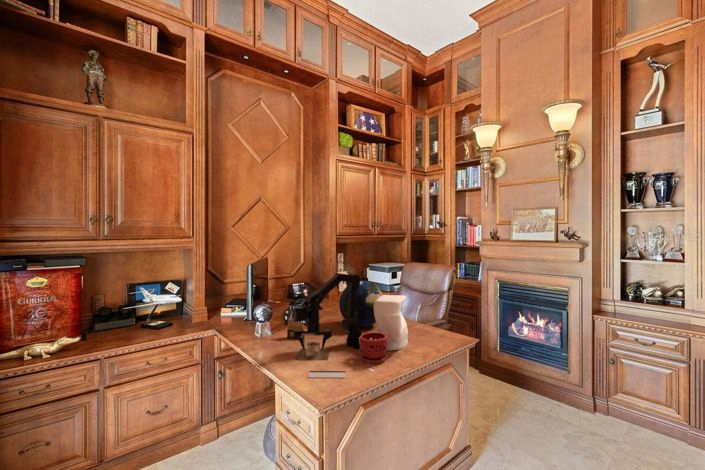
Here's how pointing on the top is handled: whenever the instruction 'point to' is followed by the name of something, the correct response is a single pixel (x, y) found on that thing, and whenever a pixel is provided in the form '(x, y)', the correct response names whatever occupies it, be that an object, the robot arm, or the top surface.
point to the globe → (362, 303)
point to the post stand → (322, 356)
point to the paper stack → (391, 320)
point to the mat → (326, 374)
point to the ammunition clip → (293, 328)
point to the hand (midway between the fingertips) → (313, 350)
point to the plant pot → (373, 347)
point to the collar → (313, 349)
